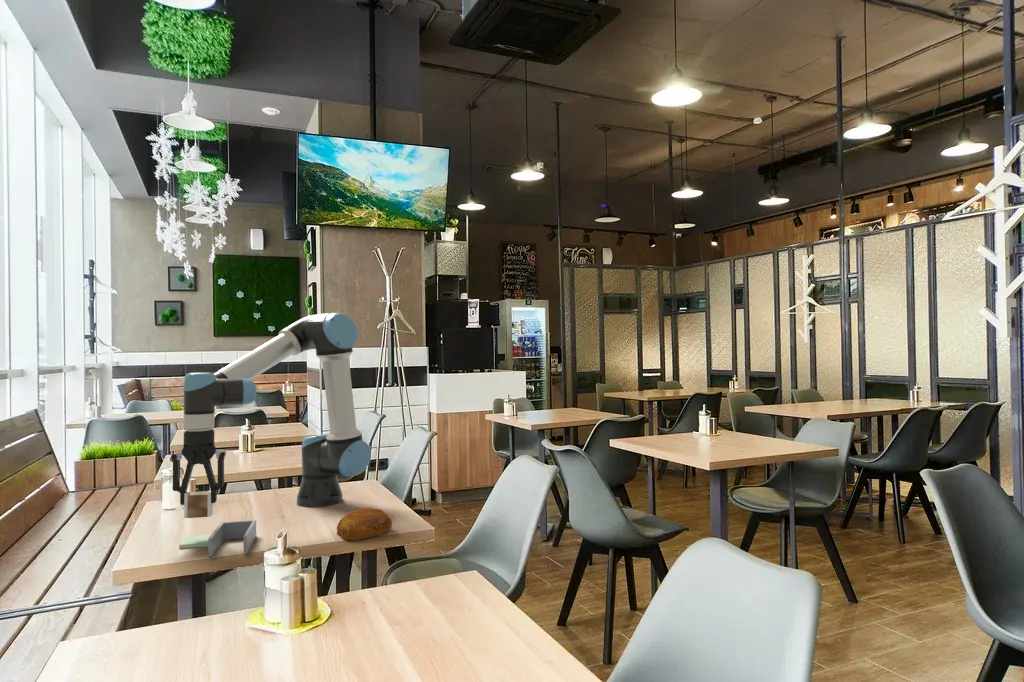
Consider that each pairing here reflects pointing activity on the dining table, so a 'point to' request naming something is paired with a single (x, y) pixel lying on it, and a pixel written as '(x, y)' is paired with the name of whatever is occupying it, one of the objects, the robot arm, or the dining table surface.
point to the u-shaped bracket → (232, 534)
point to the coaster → (194, 542)
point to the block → (197, 504)
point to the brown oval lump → (363, 524)
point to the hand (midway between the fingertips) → (198, 515)
